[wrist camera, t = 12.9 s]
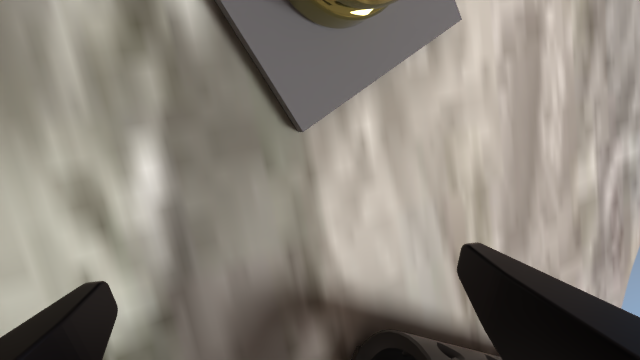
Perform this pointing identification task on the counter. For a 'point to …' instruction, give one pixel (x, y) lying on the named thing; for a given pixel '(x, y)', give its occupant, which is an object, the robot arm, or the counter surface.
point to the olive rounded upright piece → (340, 11)
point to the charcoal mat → (330, 49)
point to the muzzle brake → (413, 349)
